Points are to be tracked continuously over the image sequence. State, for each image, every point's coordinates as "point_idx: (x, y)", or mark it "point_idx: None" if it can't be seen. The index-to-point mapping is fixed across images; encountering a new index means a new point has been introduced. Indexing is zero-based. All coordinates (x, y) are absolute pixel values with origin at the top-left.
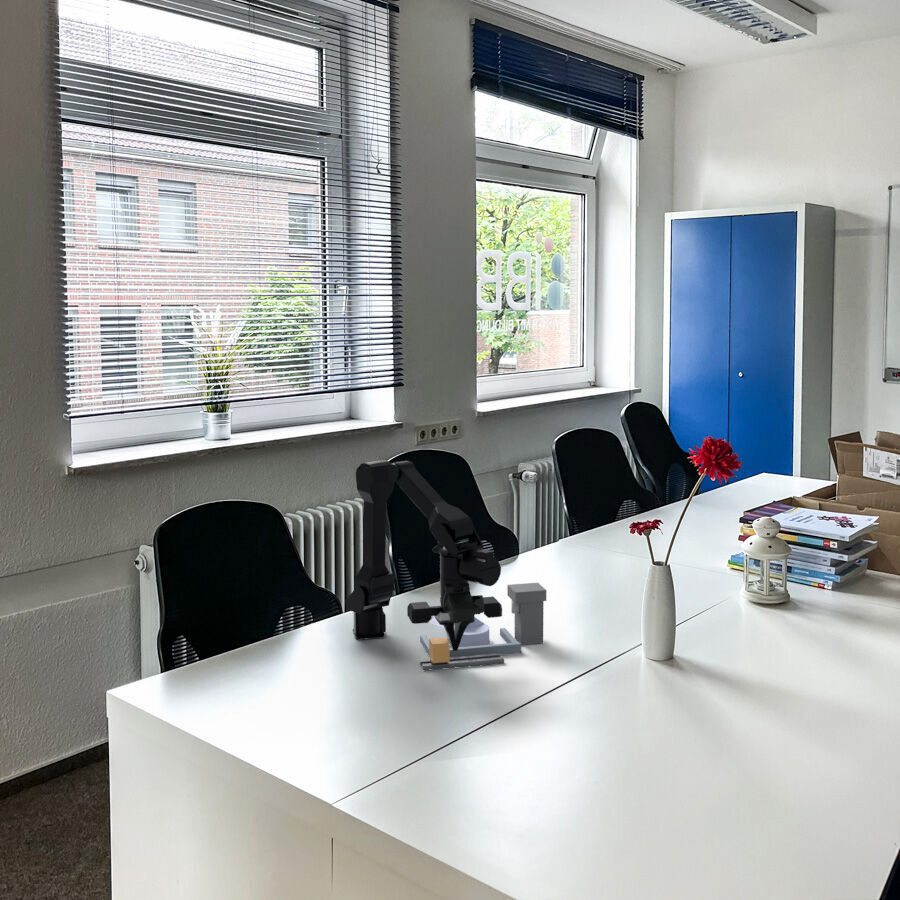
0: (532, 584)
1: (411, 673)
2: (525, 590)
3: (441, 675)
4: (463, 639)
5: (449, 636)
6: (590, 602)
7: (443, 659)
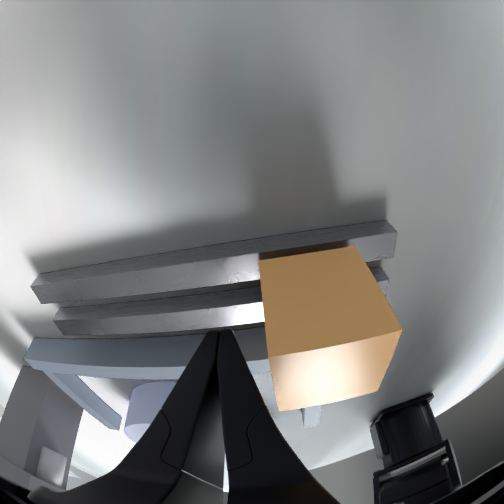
0: None
1: (434, 199)
2: None
3: (311, 148)
4: None
5: (267, 409)
6: None
7: (297, 266)
